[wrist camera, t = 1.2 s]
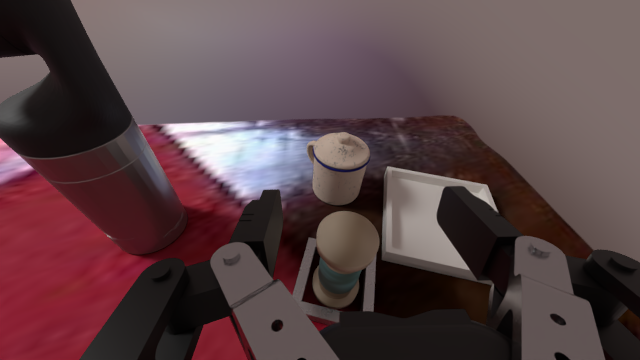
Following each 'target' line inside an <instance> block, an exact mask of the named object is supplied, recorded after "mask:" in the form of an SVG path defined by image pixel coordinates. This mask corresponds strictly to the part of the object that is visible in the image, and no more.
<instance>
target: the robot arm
mask: <svg viewBox="0 0 640 360" xmlns="http://www.w3.org/2000/svg"><path fill="white" fill-rule="evenodd" d="M35 54H38V55H40V56H41V57H42V58H43V59H44V61H45V62H46V64H47V66H48V67H49V70H50V73H49V74H48V75H47V76H46V77H45V78H44V79H43V80H41V81H40V82H38V83H37V84H35V85H33V86H31V87H29V88H27V89H25V90H23V91H21V92H19V93H17V94H16V95H13V96H12V97H10V98H8V99H6V100H5V101H4V102H2V103H1V104H0V138H1V139H2V140H3V141H4V142H5V143H6V144H7V145H8V146H9V147H10V148H12V149H13V150H14V151H15V152H16V153H17V154H18V155H20V156H21V157H22V158H23V159H24V160H25V161H26V162H27V163H28V164H29V165H30V166H32V167H33V168H34V169H35V170H36V171H37V172H38V173H39V174H40V175H41V176H43V177H44V178H45V179H46V180H47V181H48V182H49V183H50V184H51V185H53V186H54V187H55V188H56V189H57V190H58V191H59V192H60V193H61V194H62V195H63V196H65V197H66V198H67V199H68V200H69V201H70V202H71V203H72V204H73V205H74V206H75V207H77V208H78V209H79V210H80V211H81V212H82V213H83V214H84V215H85V216H86V217H87V218H89V219H90V220H91V221H92V222H93V223H94V224H95V225H96V226H97V227H98V228H99V229H101V230H102V231H103V232H104V233H105V234H106V235H107V236H108V237H109V238H110V239H111V240H112V241H113V242H114V243H116V244H117V245H118V246H119V247H120V248H121V249H122V250H124V251H125V252H127V253H131V254H139V255H141V254H148V253H152V252H155V251H158V250H160V249H162V248H164V247H166V246H168V245H169V244H171V243H172V242H173V241H174V240H176V239H177V238H178V237H179V236H180V234H181V233H182V232H183V230H184V229H185V227H186V224H187V219H188V216H187V212H186V210H185V208H184V207H183V205H182V203H181V201H180V200H179V198H178V196H177V194H176V192H175V190H174V189H173V187H172V185H171V183H170V182H169V180H168V178H167V176H166V174H165V173H164V171H163V169H162V167H161V166H160V164H159V162H158V160H157V159H156V157H155V155H154V153H153V152H152V150H151V148H150V146H149V144H148V143H147V141H146V139H145V137H144V136H143V134H142V132H141V131H140V129H139V127H138V125H137V124H136V122H135V120H134V118H133V116H132V115H131V113H130V111H129V110H128V108H127V106H126V105H125V103H124V101H123V99H122V97H121V96H120V94H119V92H118V90H117V89H116V87H115V85H114V83H113V81H112V80H111V78H110V76H109V74H108V73H107V71H106V69H105V67H104V65H103V63H102V62H101V60H100V58H99V56H98V54H97V53H96V50H95V49H94V47H93V45H92V43H91V41H90V39H89V37H88V35H87V33H86V31H85V29H84V27H83V25H82V23H81V21H80V19H79V17H78V15H77V13H76V10H75V9H74V6H73V4H72V2H71V0H0V58H2V57H12V56H24V55H35ZM437 222H438V224H439V226H440V227H441V229H442V230H443V232H444V233H445V235H446V236H447V237H448V239H449V240H450V242H451V243H452V245H453V246H454V248H455V249H456V250H457V252H458V253H459V255H460V256H461V258H462V259H463V260H464V262H465V263H466V265H467V266H468V268H469V269H470V270H471V272H472V273H473V275H474V276H475V278H476V279H477V281H484V280H491V281H492V282H493V285H492V287H491V290H490V297H489V305H488V313H487V321H486V325H483V324H481V323H478V322H475V321H471V320H470V318H469V316H468V314H467V313H466V311H465V309H442V310H431V311H428V312H425V313H422V314H419V315H415V316H412V317H409V318H398V317H394V316H390V315H385V314H381V313H376V312H372V311H350V312H339V322H337V323H334V324H332V325H330V326H328V327H326V328H324V329H323V330H321V331H318V330H317V329H316V327H315V326H314V325H313V323H312V322H311V321H310V319H309V318H308V317H307V315H306V314H305V313H304V311H303V310H302V309H301V307H300V306H299V304H298V303H297V302H296V300H295V299H294V298H293V296H292V295H291V294H290V292H289V291H288V290H287V288H286V287H285V286H284V284H283V283H282V282H281V281H280V280H279V279H276V280H275V281H274V280H273V274H274V268H275V263H276V258H277V253H278V248H279V243H280V238H281V233H282V227H283V213H282V205H281V196H280V191H279V190H263V192H262V195H261V197H260V200H252V201H251V202H250V203H249V204H248V205H247V206H246V207H245V209H244V211H243V213H242V215H241V217H240V219H239V222H238V224H237V226H236V228H235V230H234V232H233V235H232V237H231V239H230V241H229V243H228V244H227V245H224V246H222V247H221V248H219V249H218V250H217V251H216V252H215V253H214V254H213V256H212V258H211V259H210V260H208V261H205V262H201V263H198V264H194V265H190V266H185V264H184V262H183V261H182V260H180V259H178V258H168V259H164V260H161V261H158V262H156V263H154V264H152V265H151V266H149V267H148V268H147V269H145V270H144V271H143V272H142V273H141V275H140V276H139V277H138V279H137V280H136V281H135V283H134V284H133V285H132V287H131V288H130V290H129V291H128V292H127V294H126V295H125V297H124V298H123V299H122V301H121V302H120V304H119V305H118V306H117V308H116V309H115V311H114V312H113V313H112V315H111V316H110V318H109V319H108V320H107V322H106V323H105V325H104V326H103V327H102V329H101V330H100V332H99V333H98V334H97V336H96V337H95V338H94V340H93V341H92V343H91V344H90V345H89V347H88V348H87V350H86V351H85V352H84V354H83V355H82V357H81V358H80V359H79V360H191V359H192V356H193V353H194V351H195V348H196V345H197V342H198V339H199V336H200V334H201V331H202V328H203V325H204V324H207V323H210V322H213V321H216V320H219V319H222V318H225V317H228V316H229V318H230V320H231V323H232V325H233V327H234V329H235V332H236V334H237V336H238V338H239V341H240V343H241V345H242V347H243V350H244V352H245V354H246V357H247V359H248V360H640V341H639V340H638V339H637V338H636V337H635V336H634V335H633V334H632V333H631V332H630V331H629V330H628V329H627V328H625V327H624V326H623V325H622V324H621V323H620V322H619V321H618V320H617V319H618V318H619V317H620V316H621V315H622V314H623V313H624V312H625V311H626V310H627V309H630V310H631V311H632V312H633V313H634V314H635V315H636V316H638V317H639V318H640V263H639V262H637V261H635V260H633V259H631V258H629V257H627V256H625V255H622V254H619V253H616V252H613V251H608V250H595V251H593V252H592V253H591V255H590V256H589V257H588V259H587V260H586V259H580V258H575V257H570V256H565V255H564V254H563V252H562V251H561V250H559V249H558V248H557V247H555V246H554V245H552V244H550V243H548V242H546V241H544V240H542V239H539V238H535V237H530V236H523V235H522V234H521V233H520V232H519V231H518V230H517V229H516V228H515V227H513V226H512V225H511V224H510V223H509V222H508V221H507V220H506V219H505V218H503V217H501V215H500V214H499V213H498V212H497V211H494V209H493V208H492V207H491V206H490V205H489V204H488V203H487V202H485V201H483V200H482V199H480V198H478V197H476V196H474V195H473V194H472V193H471V192H470V191H468V190H467V189H466V188H465V187H464V186H446V187H445V188H444V189H443V192H442V195H441V199H440V202H439V206H438V210H437Z"/></svg>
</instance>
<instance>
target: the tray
mask: <svg viewBox="0 0 640 360" xmlns="http://www.w3.org/2000/svg"><path fill="white" fill-rule="evenodd" d="M446 186H464V187H465V188H466V189H467V190H468V191H470V192H471V193H472V194H473V195H474V196H476V197H478V198H480V199H482V200H483V201H485V202H487V203H488V204H489V205H490V206H491V207H492V208H493V209H494V211H497V208H496V206H495V203H494V201H493V198H492V196H491V194H490V191H489V189H488V186H487V185H485V184H479V183H474V182H469V181H463V180H458V179H452V178H447V177H442V176H436V175H431V174H425V173H420V172H415V171H409V170H404V169H398V168H393V167H388V166H387V169H386V172H385V175H384V197H383V229H382V260H384V261H388V262H393V263H397V264H402V265H406V266H410V267H415V268H419V269H423V270H428V271H432V272H437V273H441V274H445V275H450V276H454V277H459V278H463V279H467V280H472V281H476V282H480V283H485V284H489V285H493V282H492V281H491V280H484V281H477V279H476V278H475V276H474V275H473V273H472V272H471V270H470V269H469V268H468V266H467V265H466V263H465V262H464V260H463V259H462V258H461V256H460V255H459V253H458V252H457V250H456V249H455V248H454V246H453V245H452V243H451V242H450V240H449V239H448V237H447V236H446V235H445V233H444V232H443V230H442V229H441V227H440V226H439V224H438V222H437V210H438V206H439V202H440V199H441V195H442V192H443V189H444V188H445V187H446ZM497 212H498V211H497Z"/></svg>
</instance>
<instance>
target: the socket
mask: <svg viewBox="0 0 640 360" xmlns="http://www.w3.org/2000/svg"><path fill="white" fill-rule="evenodd" d="M314 254H318V255H319V253H318V250H317V246H316V239H314V238H309V239H308V243H307V246H306V250H305V253H304V257H303V260H302V264H301V267H300V271H299V274H298V278H297V281H296V285H295V288H294V292H293V295H292V296H293V298H294V299H295V300H296V302H297V303H298V304H299V306H300V307H301V309H302V310H303V311H304V313H305V314H306V315H307V317H308V318H309V319H310V320H311V321H315V322H319V323H322V324H326V325H332V324H334V323H337V322H339V312H342V311H338V310H334V309H330V308H326V307H322V306H318V305H314V304H311V303H307V302H303V298H304V294H305V290H306V286H307V282H308V278H309V274H310V270H311V266H312V262H313V258H314ZM375 270H376V255H375V257H374V260H373V261H372V263H371V264H370V265H369V266H367V267H366V268H364V273H363V285H362V297H361V308H360V311H372V312H373V311H374V290H375Z"/></svg>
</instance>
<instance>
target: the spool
mask: <svg viewBox="0 0 640 360" xmlns="http://www.w3.org/2000/svg"><path fill="white" fill-rule="evenodd" d="M316 246H317V250H318V253H319V255H320V262H319V266H318V267H317V268H316V270H315V272H314V274H313V280H312V288H313V292H314V295H315V297H316V298H317V300H318V301H319V302H320V303H321V304H322V305H324V306H325V307H327V308H330V309H343V308H345V307H347V306H349V305H350V304H351V303H352V302H353V301H354V299H355V297H356V295H357V293H358V290H359V279H358V278H359V276H360V273H361V271H362V270H363V269H364V268H366V267H367V266H369V265H370V264H371V263H372V261H373V260H374V257H375V255H376V253H377V251H378V248H379V236H378V233H377V231H376V229H375V227H374V226H373V224H372V223H371V222H370V221H369V220H368V219H366V218H365V217H363V216H362V215H360V214H357V213H354V212H349V211H339V212H335V213H332V214H330V215H328V216H327V217H325V218H324V219H323V220H322V222H321V223H320V225H319V227H318V230H317V238H316Z"/></svg>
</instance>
